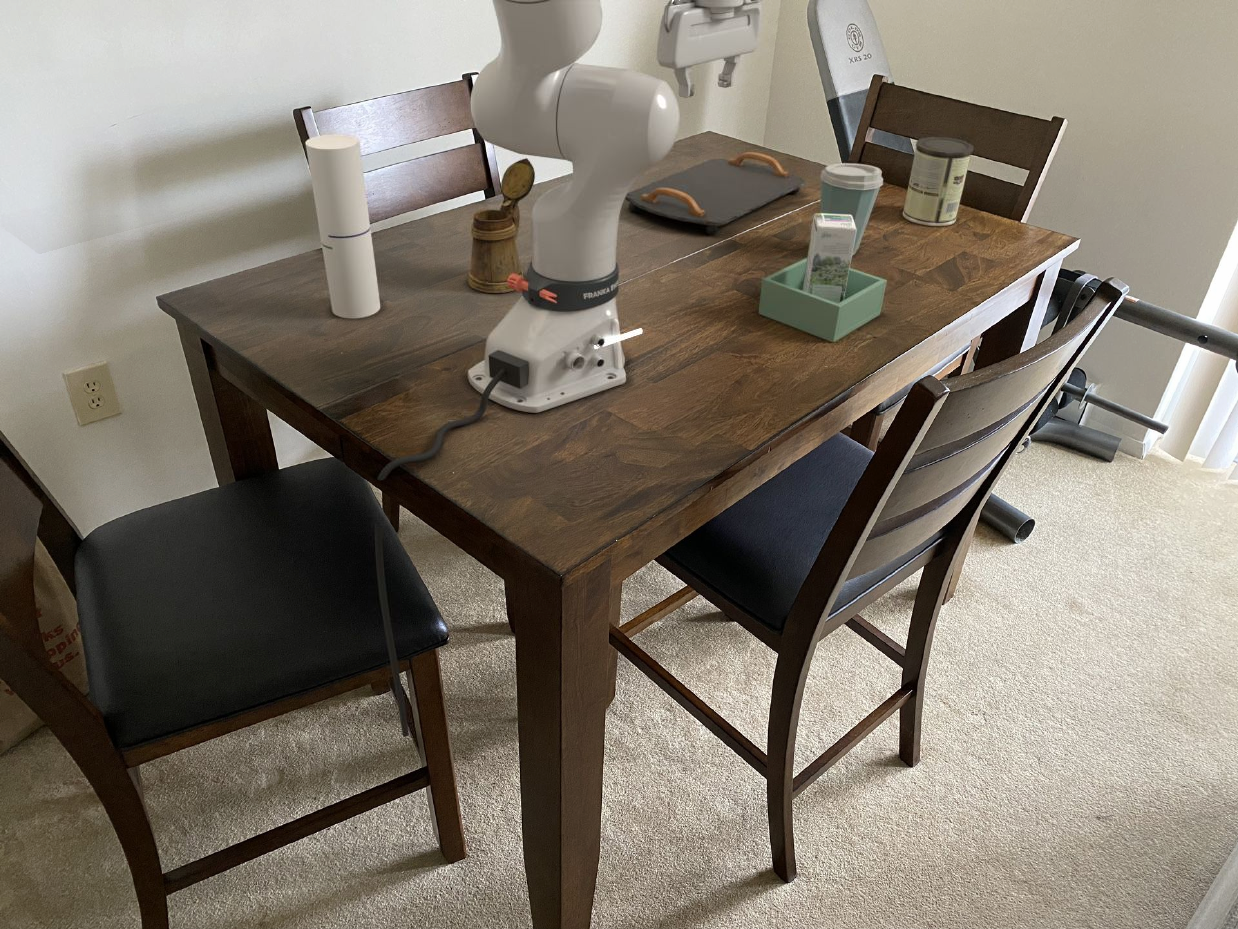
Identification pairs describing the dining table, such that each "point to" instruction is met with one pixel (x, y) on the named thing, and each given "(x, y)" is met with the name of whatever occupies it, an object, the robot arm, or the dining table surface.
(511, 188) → the wooden mug
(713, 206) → the serving tray
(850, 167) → the disposable coffee cup
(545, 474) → the dining table surface
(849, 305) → the open storage box
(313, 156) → the cylindrical container
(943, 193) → the coffee can
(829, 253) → the syrup box
